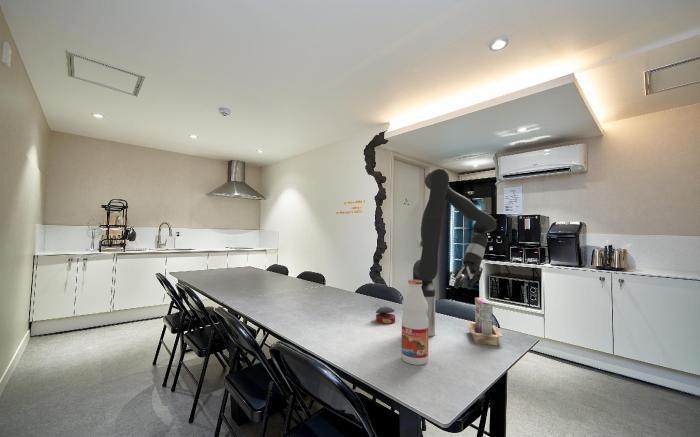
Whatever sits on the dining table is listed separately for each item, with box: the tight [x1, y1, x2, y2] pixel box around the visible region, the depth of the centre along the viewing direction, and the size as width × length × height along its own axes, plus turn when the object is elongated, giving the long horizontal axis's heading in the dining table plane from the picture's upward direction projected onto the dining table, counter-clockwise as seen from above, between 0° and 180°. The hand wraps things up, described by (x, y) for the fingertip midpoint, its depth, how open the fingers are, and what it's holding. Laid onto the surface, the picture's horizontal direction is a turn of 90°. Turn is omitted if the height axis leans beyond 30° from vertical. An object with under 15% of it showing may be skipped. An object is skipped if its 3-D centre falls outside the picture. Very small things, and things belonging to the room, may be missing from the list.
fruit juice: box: [400, 279, 429, 366], centre depth 103 cm, size 9×9×28 cm
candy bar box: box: [474, 297, 494, 335], centre depth 126 cm, size 11×5×16 cm, turn 168°
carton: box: [467, 321, 503, 347], centre depth 126 cm, size 12×18×4 cm, turn 163°
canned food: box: [375, 306, 396, 325], centre depth 148 cm, size 11×10×10 cm
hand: (462, 288), depth 125 cm, fingers open, 8 cm apart
